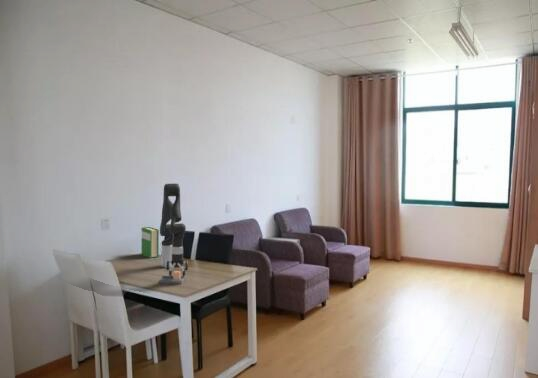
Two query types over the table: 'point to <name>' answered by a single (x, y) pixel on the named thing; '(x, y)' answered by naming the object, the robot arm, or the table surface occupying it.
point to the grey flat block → (170, 280)
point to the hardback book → (150, 242)
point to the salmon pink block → (177, 275)
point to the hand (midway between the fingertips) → (177, 276)
